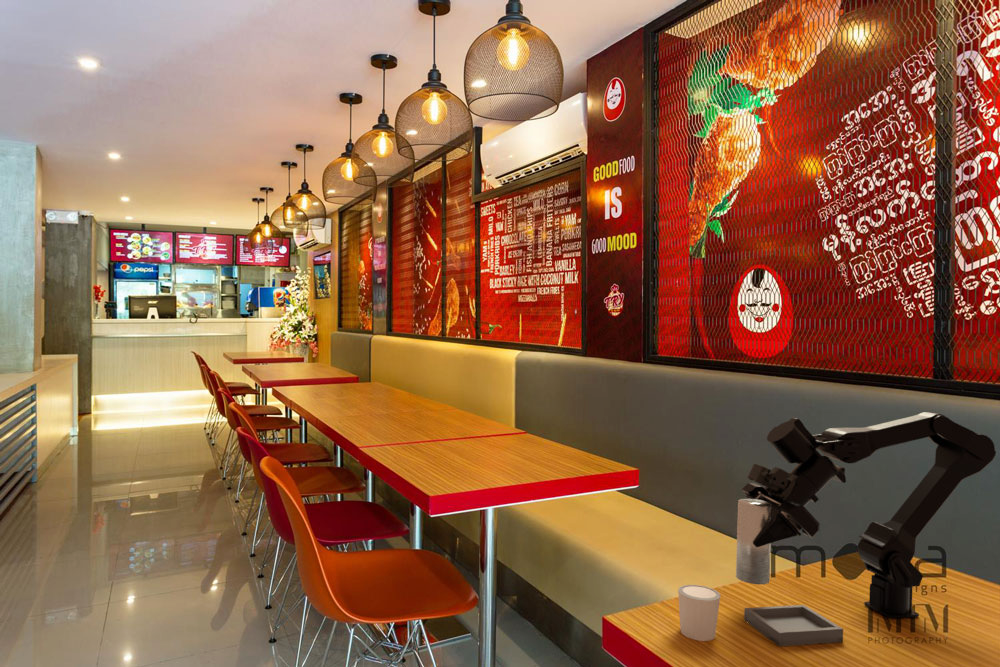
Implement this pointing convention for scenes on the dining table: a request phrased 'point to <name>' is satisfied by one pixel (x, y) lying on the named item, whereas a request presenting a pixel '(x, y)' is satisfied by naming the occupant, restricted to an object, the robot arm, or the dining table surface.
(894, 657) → the dining table surface
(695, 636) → the white cup
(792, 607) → the tray
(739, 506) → the silver metal cylinder
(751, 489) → the robot arm
